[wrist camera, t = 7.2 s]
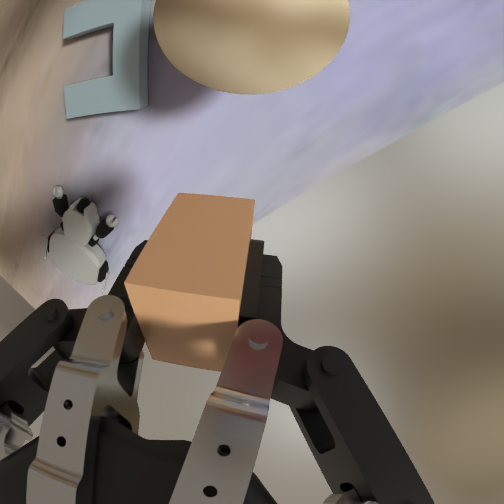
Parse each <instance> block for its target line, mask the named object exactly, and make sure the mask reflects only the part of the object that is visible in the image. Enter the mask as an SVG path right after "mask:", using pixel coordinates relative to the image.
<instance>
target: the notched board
mask: <svg viewBox="0 0 504 504" xmlns="http://www.w3.org/2000/svg"><path fill="white" fill-rule="evenodd" d="M150 5H151V0H86V1H83V2H80V3H78V4H76V5H73V6H71V7H68V8H66V9H65V12H64V26H63V39H69V38H76V37H79V36H81V35H84V34H87V33H91V32H94V31H97V30H101V29H104V28H108V27H111V26H114V30H113V75H111V76H106V77H101V78H96V79H91V80H87V81H83V82H79V83H75V84H71V85H68V86H64V97H65V108H66V117H67V119H68V118H74V117H80V116H86V115H93V114H100V113H107V112H116V111H126V110H138V109H142V108H144V107H146V106H148V37H149V18H150Z"/></svg>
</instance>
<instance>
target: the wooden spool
mask: <svg viewBox="0 0 504 504" xmlns="http://www.w3.org/2000/svg"><path fill="white" fill-rule="evenodd" d="M349 22H350V9H349V3H348V0H156V3H155V8H154V29H155V34H156V37H157V40H158V43H159V45H160V47H161V49H162V51H163V53H164V54H165V56H166V57H167V58H168V60H169V61H170V62H171V63H172V64H173V65H174V66H175V67H176V68H177V69H178V70H179V71H180V72H182V73H183V74H184V75H185V76H187V77H189V78H190V79H192V80H193V81H195V82H197V83H199V84H202V85H204V86H206V87H209V88H212V89H215V90H218V91H223V92H228V93H235V94H264V93H271V92H276V91H280V90H284V89H287V88H290V87H293V86H295V85H297V84H300V83H302V82H304V81H306V80H308V79H309V78H311V77H313V76H314V75H316V74H317V73H318V72H320V71H321V70H322V69H324V68H325V67H326V66H327V65H328V64H329V63H330V62H331V61H332V60H333V58H334V57H335V56H336V54H337V53H338V52H339V50H340V48H341V47H342V45H343V43H344V41H345V38H346V35H347V32H348V27H349Z"/></svg>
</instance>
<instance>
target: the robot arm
mask: <svg viewBox="0 0 504 504" xmlns="http://www.w3.org/2000/svg"><path fill="white" fill-rule="evenodd" d="M147 242H148V240H144V241H143V242H142V243H141V244H139V245H138V246H137V247H136V248H135V249H134V250H133V252H132V254H131V255H130V257H129V259H128V260H127V262H126V264H125V267H123V269H122V271H121V272H120V274H119V276H118V277H117V279H116V281H115V283H114V284H113V286H112V288H111V290H110V292H109V293H108V295H104V296H101V297H98V298H97V299H95V300H94V301H93V302H92V303H91V304H90V305H89V307H88V308H84V309H70V310H69V309H68V307H67V306H66V304H65V303H64V302H63V301H62V300H60V299H51V300H48V301H46V302H45V303H43V304H42V305H41V306H40V307H39V308H37V309H36V310H35V311H34V312H33V313H32V314H30V315H29V316H28V317H27V318H26V319H25V320H24V321H23V322H21V323H20V324H19V325H18V326H17V327H16V328H15V329H14V330H13V331H12V332H10V333H9V334H8V335H7V336H6V337H5V338H4V339H3V340H2V341H1V342H0V504H277V503H276V501H275V500H274V499H273V497H272V496H271V495H270V494H269V492H268V491H267V490H266V488H265V487H264V485H263V484H262V483H261V481H260V480H259V479H258V477H257V476H256V475H255V473H254V472H253V468H254V465H255V461H256V458H257V454H258V450H259V447H260V443H261V439H262V435H263V432H264V428H265V424H266V420H267V415H268V410H269V401H270V398H272V399H274V400H276V401H279V402H281V403H284V404H287V405H289V406H290V408H291V411H292V413H293V415H294V417H295V419H296V421H297V423H298V425H299V427H300V429H301V431H302V433H303V435H304V437H305V439H306V441H307V443H308V445H309V447H310V449H311V451H312V453H313V455H314V457H315V459H316V461H317V463H318V465H319V467H320V469H321V471H322V473H323V475H324V477H325V479H326V481H327V483H328V485H329V487H330V488H331V490H332V492H333V494H331V495H330V496H329V497H328V498H327V499H326V500H325V501H324V503H323V504H434V501H433V500H432V498H431V496H430V494H429V492H428V490H427V489H426V487H425V485H424V483H423V481H422V479H421V478H420V476H419V474H418V473H417V470H416V469H415V467H414V465H413V463H412V461H411V460H410V458H409V456H408V454H407V453H406V451H405V449H404V447H403V446H402V444H401V442H400V440H399V439H398V437H397V435H396V433H395V432H394V430H393V428H392V427H391V425H390V423H389V422H388V420H387V418H386V416H385V415H384V413H383V412H382V410H381V408H380V406H379V405H378V403H377V401H376V400H375V398H374V396H373V395H372V393H371V391H370V390H369V388H368V386H367V385H366V383H365V381H364V380H363V378H362V377H361V375H360V373H359V372H358V370H357V369H356V367H355V365H354V364H353V362H352V360H351V359H350V357H349V356H348V355H347V354H346V353H345V352H344V351H343V350H341V349H339V348H337V347H332V346H323V347H319V348H317V349H315V350H314V351H313V350H311V349H308V348H305V347H303V346H300V345H298V344H296V343H294V342H292V341H291V340H290V339H289V338H288V337H287V336H286V335H285V333H284V332H283V330H282V327H281V298H282V265H281V263H280V261H279V259H278V258H277V256H272V255H263V249H264V241H261V240H253V239H250V242H249V249H248V256H247V263H246V270H245V277H244V284H243V290H242V297H241V304H240V311H239V320H238V328H237V330H236V332H235V335H234V337H233V340H232V343H231V346H230V349H229V352H228V355H227V357H226V360H225V363H224V366H223V369H222V372H221V374H220V377H219V380H218V383H217V386H216V388H215V390H214V392H213V393H212V394H211V395H210V396H209V398H208V400H207V403H206V405H205V408H204V410H203V413H202V416H201V419H200V421H199V424H198V427H197V430H196V432H195V435H194V438H193V440H192V442H190V441H185V440H147V439H144V438H142V437H140V436H139V435H138V429H139V418H140V415H139V407H138V403H137V396H138V389H139V382H140V376H141V370H142V364H143V358H144V350H143V345H144V342H145V338H144V336H143V333H142V331H141V328H140V326H139V323H138V320H137V318H136V315H135V314H134V311H133V308H132V305H131V302H130V299H129V296H128V293H127V290H126V287H125V284H124V282H125V280H126V278H127V276H128V275H129V273H130V271H131V269H132V267H133V266H134V264H135V262H136V260H137V259H138V257H139V255H140V253H141V252H142V250H143V248H144V247H145V245H146V243H147ZM52 346H53V347H54V348H55V351H54V352H53V353H52V354H50V355H49V356H48V357H47V358H46V359H45V360H44V361H43V362H42V363H41V364H40V365H39V366H38V367H36V368H30V367H31V366H32V365H33V364H34V363H35V362H36V361H38V360H39V359H40V358H41V357H42V356H43V355H44V354H45V353H46V352H47V351H48V350H49V349H50V348H51V347H52ZM43 411H44V415H43V420H42V425H41V430H40V436H38V437H37V438H35V439H34V440H32V441H30V442H29V443H27V444H26V445H24V446H23V443H24V441H25V440H31V439H32V437H33V434H32V430H31V429H30V428H28V427H29V426H30V425H31V424H32V423H33V422H34V420H36V418H38V417H39V416H40V414H41V413H42V412H43Z"/></svg>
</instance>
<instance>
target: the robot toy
mask: <svg viewBox="0 0 504 504" xmlns="http://www.w3.org/2000/svg"><path fill="white" fill-rule="evenodd" d="M63 192H64V191H63V188H62V187H61V186H58V187H57V186H55V187H54V188H53V194H54V196H55V198H54V199H53V204H54V208H55V212H56V213H57V214H58V215H59V216H61V218H62V223H61V228H58V229H57V230H56V231H55V232H53V233H52V234H51V235H50V236H49V237H48V238H47V240H46V242H47V245H46V251H45V256H44V260H45V259H46V257H47V256H46V255H47V249H48V252H49V257H50V259H51V261H52V262H53V264H54V265H55V266H56V267H57V268H58V269H59V270H60V271H62V272H63V273H64V274H66V275H67V276H69V277H70V278H72V279H74V280H76V281H78V282H81V283H84V284H88V285H95V284H97V283H98V282H102V281H103V280H104V279H105V278H106V279H105V282H104V286H103V289H102V293H103V292H104V288H105V285H106V281H107V278H108V276H109V274H110V272H109V271H108V269H109V268H108V262H107V261H106V255H105V253H104V252H103V250H102V249H101V248H100V247H99V246H98V245H97V243H98V241H99V238H104V237H106V236H107V235H108V234H109V233H110V232H111V231H112V230H113V229H114V227H116V226H117V225H118V223H119V220H118V219H117V218H116V219H115V221H114V220H113V218H114V217H115V215H114V214H110V215H108V216H107V218H105V219H104V220H103V221H102V222H101V223H100V221H99V215H98V214H97V206H96V205H95V204H94V203H93V202H92V203H91V204H90V200H89V199H88V198H84V197H80V198H79V199H77V200H76V201H75V202H74V203H73V204H72V205H71V206H70V207H69V205H68V201H67V196H66V195H63ZM68 207H69V209H68ZM99 223H100V224H99Z"/></svg>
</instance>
